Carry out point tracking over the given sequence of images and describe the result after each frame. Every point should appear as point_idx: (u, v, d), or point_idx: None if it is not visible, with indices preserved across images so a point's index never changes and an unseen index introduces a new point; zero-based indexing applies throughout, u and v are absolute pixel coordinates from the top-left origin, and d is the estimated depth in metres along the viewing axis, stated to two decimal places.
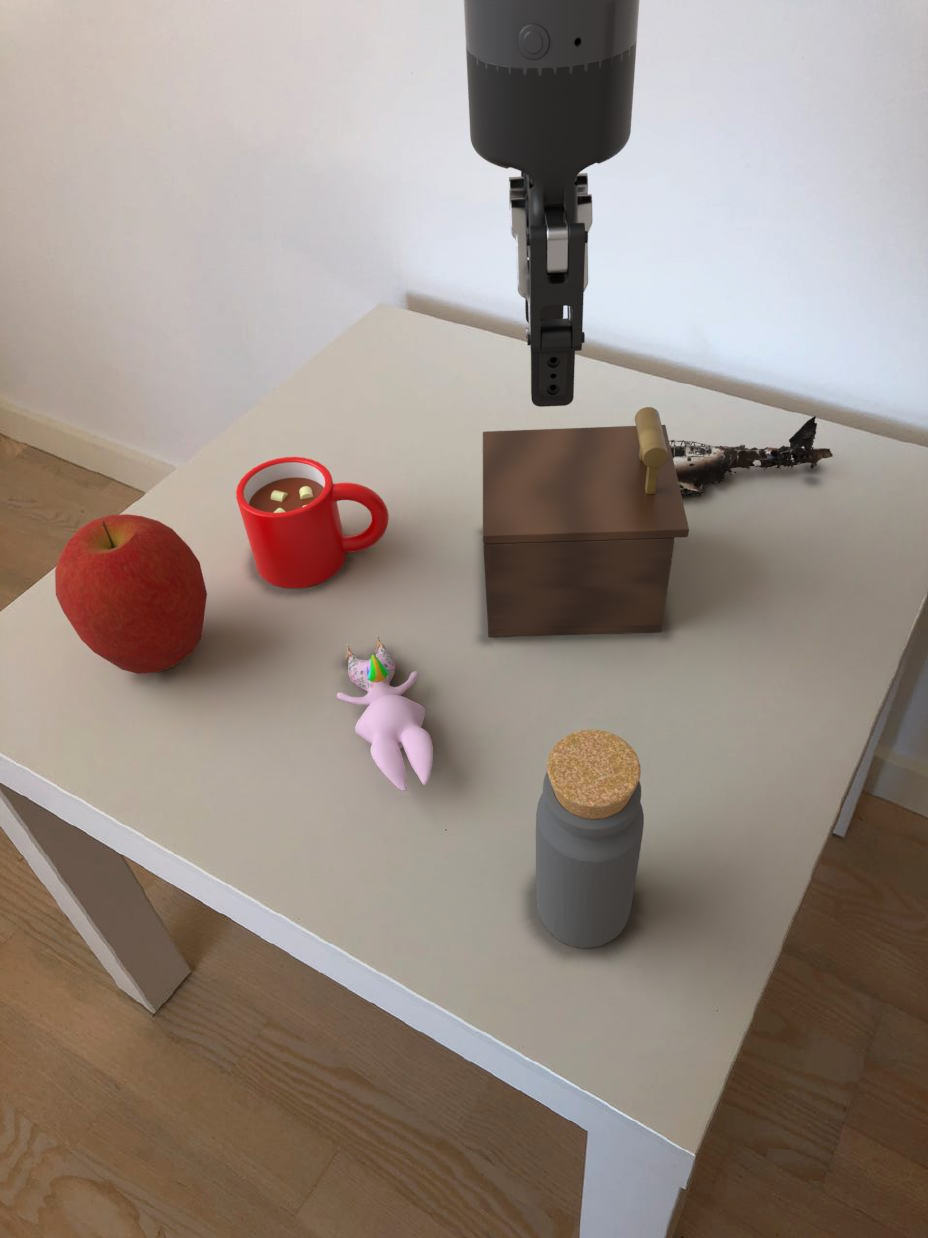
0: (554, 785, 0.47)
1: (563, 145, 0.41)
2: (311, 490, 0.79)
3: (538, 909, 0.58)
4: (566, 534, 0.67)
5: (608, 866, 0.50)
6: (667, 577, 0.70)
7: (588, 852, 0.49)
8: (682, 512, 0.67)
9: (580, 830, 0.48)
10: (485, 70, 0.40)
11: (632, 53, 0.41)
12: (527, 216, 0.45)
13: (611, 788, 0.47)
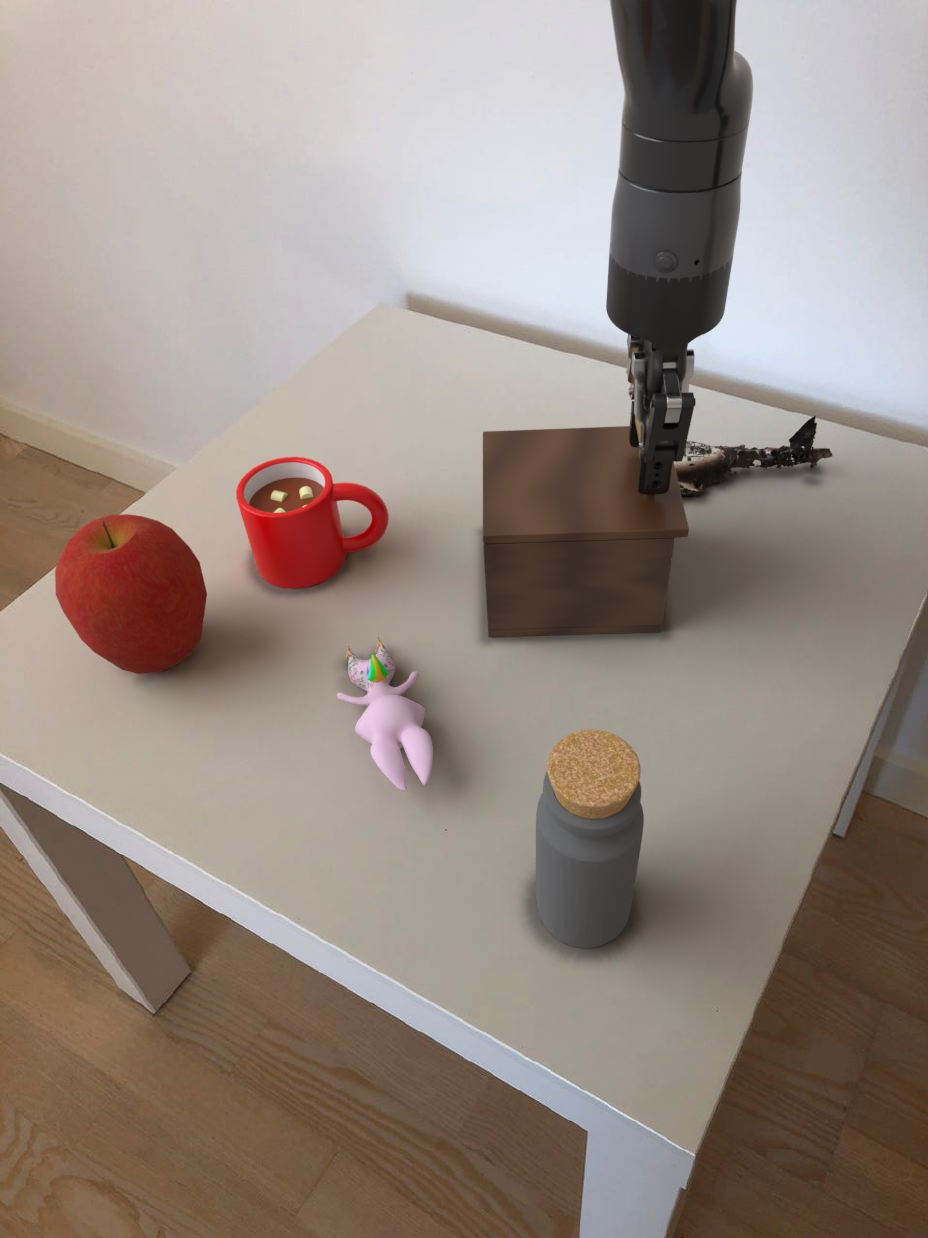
0: (554, 785, 0.47)
1: (680, 325, 0.58)
2: (311, 490, 0.79)
3: (538, 909, 0.58)
4: (566, 534, 0.67)
5: (608, 867, 0.50)
6: (667, 577, 0.70)
7: (588, 852, 0.49)
8: (682, 512, 0.67)
9: (580, 830, 0.48)
10: (627, 274, 0.57)
11: (731, 262, 0.57)
12: (646, 366, 0.62)
13: (611, 788, 0.47)
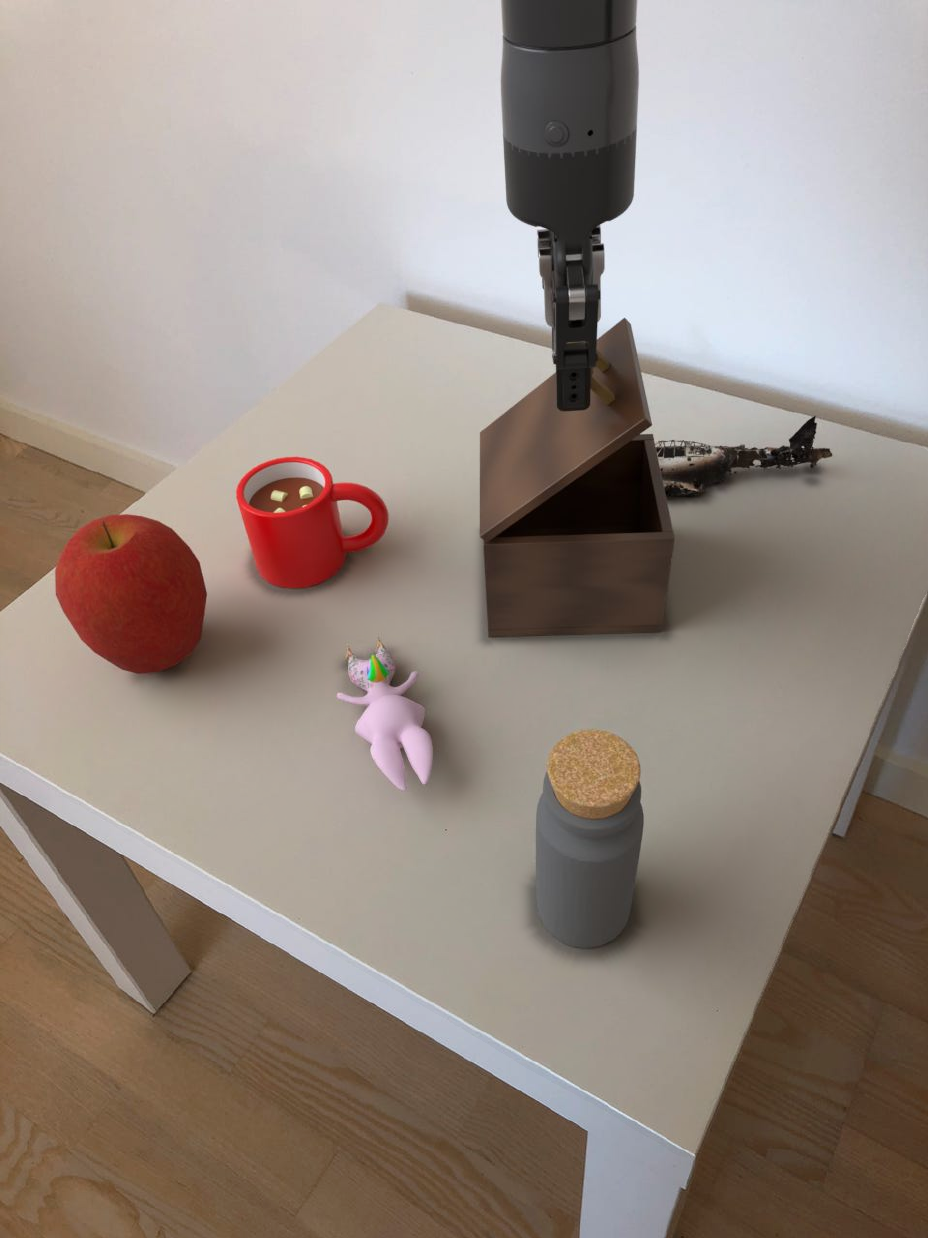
0: (554, 785, 0.47)
1: (580, 209, 0.53)
2: (311, 490, 0.79)
3: (538, 909, 0.58)
4: (543, 492, 0.64)
5: (608, 866, 0.50)
6: (667, 577, 0.70)
7: (588, 851, 0.49)
8: (639, 403, 0.61)
9: (580, 830, 0.48)
10: (519, 153, 0.52)
11: (633, 137, 0.52)
12: (552, 262, 0.57)
13: (611, 788, 0.47)
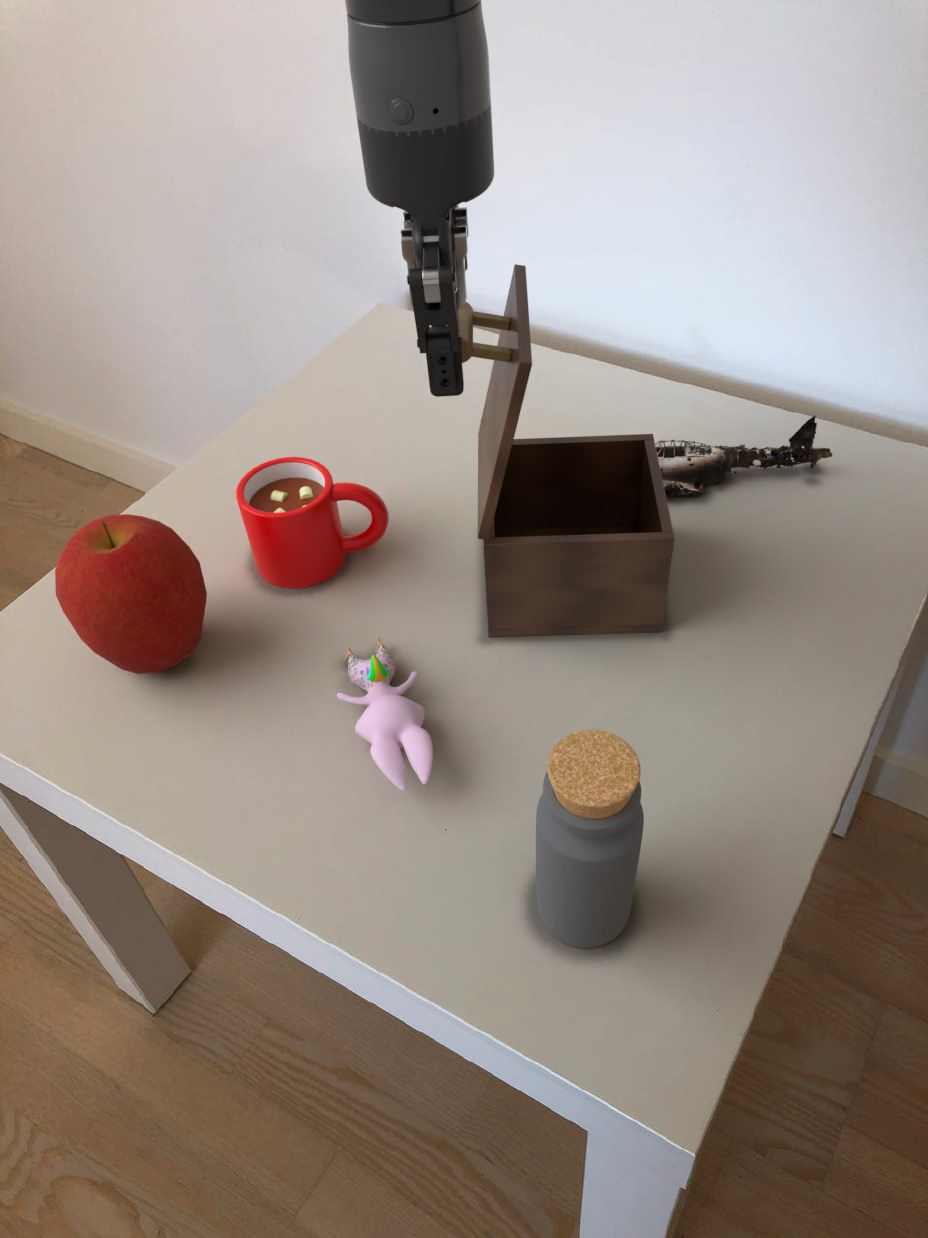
0: (554, 785, 0.47)
1: (433, 189, 0.52)
2: (311, 490, 0.79)
3: (538, 909, 0.58)
4: (494, 474, 0.63)
5: (608, 866, 0.50)
6: (667, 577, 0.70)
7: (588, 852, 0.49)
8: (518, 348, 0.58)
9: (580, 830, 0.48)
10: (369, 131, 0.51)
11: (485, 116, 0.51)
12: None
13: (611, 788, 0.47)
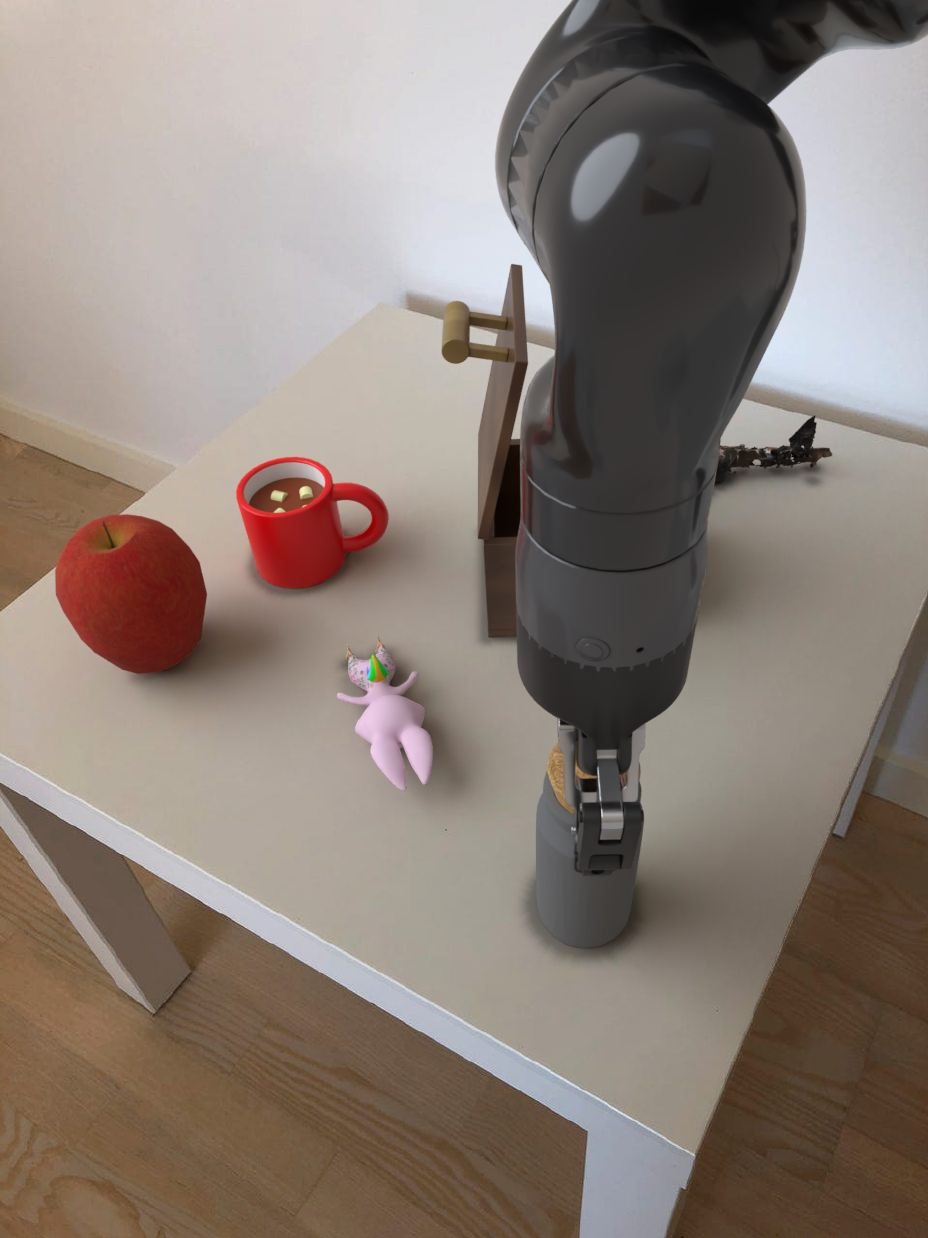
0: (554, 785, 0.47)
1: (620, 716, 0.39)
2: (311, 490, 0.79)
3: (538, 909, 0.58)
4: (493, 473, 0.63)
5: None
6: None
7: None
8: (514, 348, 0.58)
9: None
10: (539, 649, 0.38)
11: (694, 628, 0.38)
12: (576, 738, 0.43)
13: None
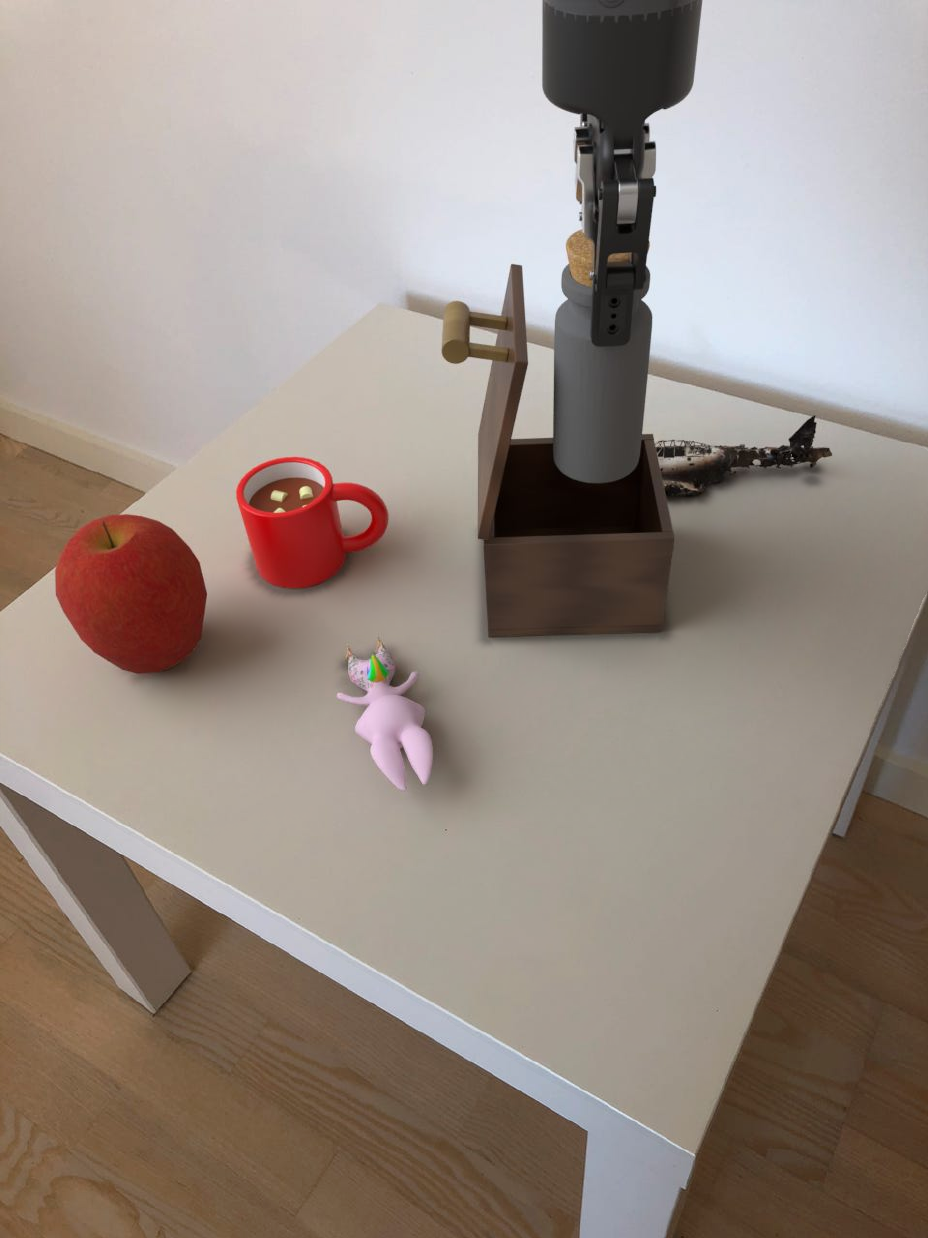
0: (572, 253, 0.53)
1: (635, 90, 0.44)
2: (311, 490, 0.79)
3: (555, 454, 0.63)
4: (493, 473, 0.63)
5: (620, 350, 0.55)
6: (667, 577, 0.70)
7: None
8: (514, 348, 0.58)
9: None
10: (563, 19, 0.43)
11: (700, 3, 0.44)
12: (595, 161, 0.48)
13: None
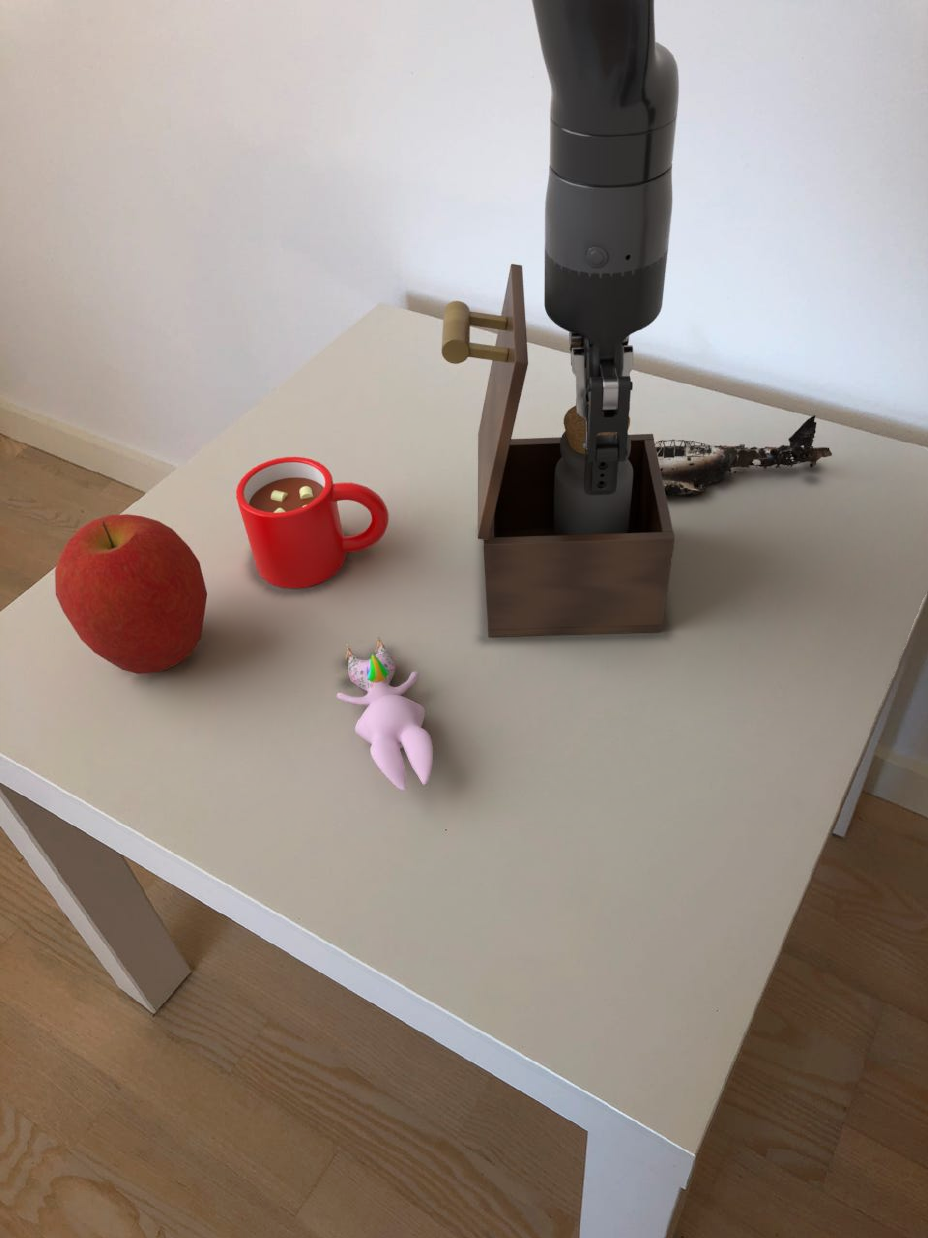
0: (568, 429, 0.66)
1: (615, 321, 0.58)
2: (311, 490, 0.79)
3: None
4: (493, 473, 0.63)
5: (607, 501, 0.69)
6: (667, 577, 0.70)
7: None
8: (514, 348, 0.58)
9: None
10: (560, 270, 0.57)
11: (665, 257, 0.57)
12: (585, 362, 0.62)
13: None
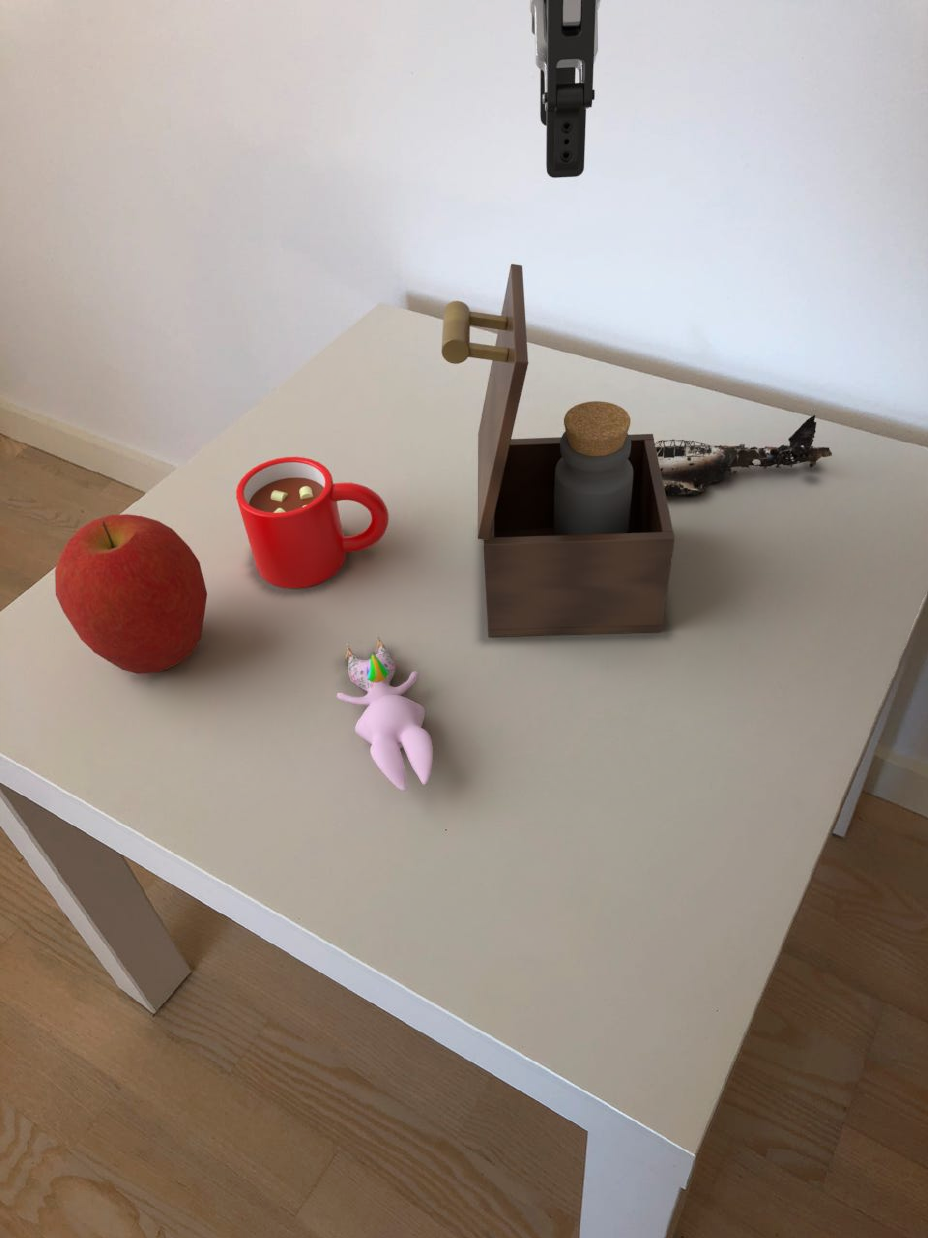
0: (569, 429, 0.66)
1: None
2: (311, 490, 0.79)
3: None
4: (493, 473, 0.63)
5: (607, 501, 0.69)
6: (667, 577, 0.70)
7: (592, 487, 0.68)
8: (514, 348, 0.58)
9: (587, 464, 0.67)
10: None
11: None
12: None
13: (609, 429, 0.66)
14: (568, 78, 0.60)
